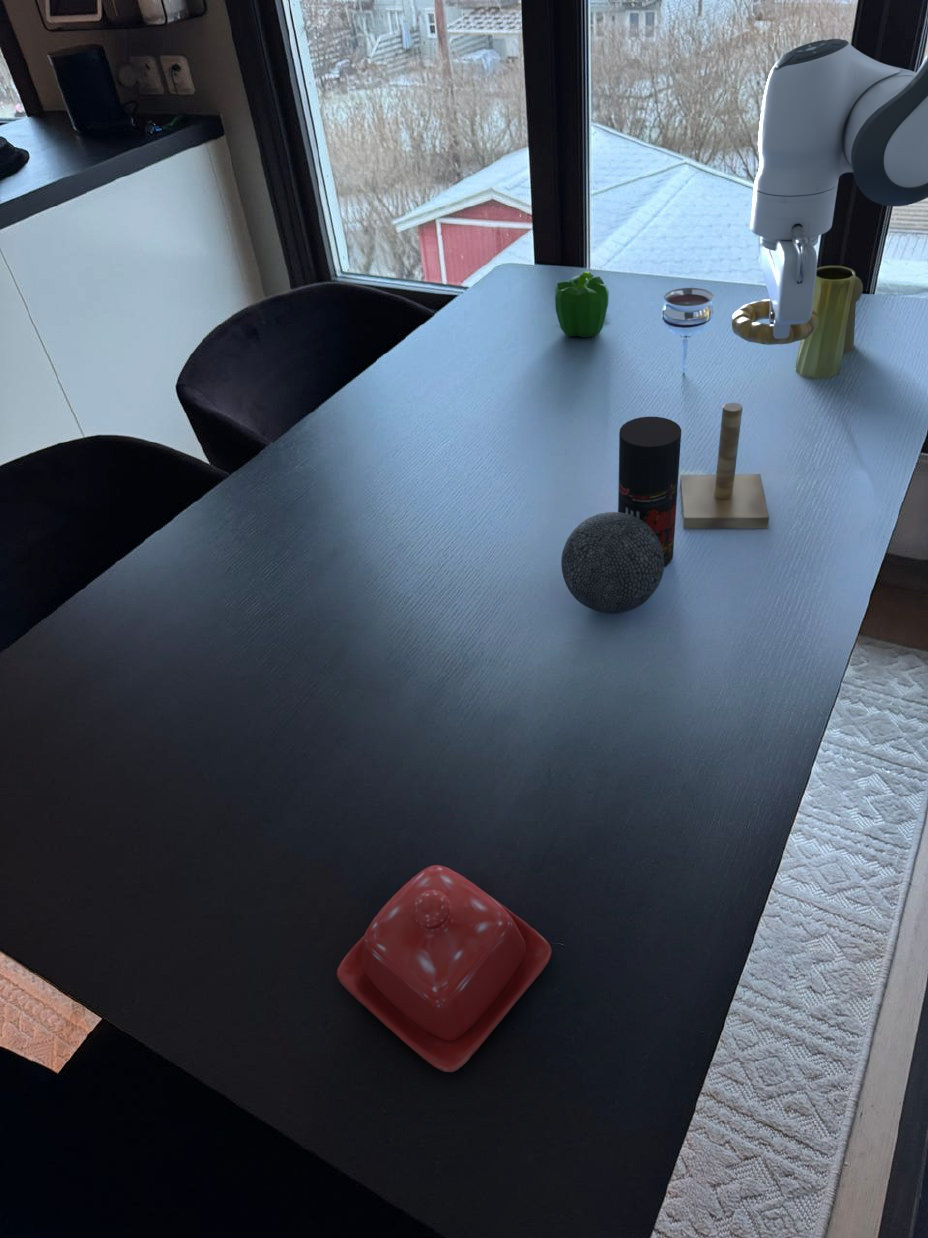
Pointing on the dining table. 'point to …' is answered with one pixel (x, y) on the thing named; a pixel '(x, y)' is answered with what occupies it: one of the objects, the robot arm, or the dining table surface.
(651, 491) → the deodorant
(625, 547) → the decorative ball
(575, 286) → the bell pepper
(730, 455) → the post
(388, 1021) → the butter dish
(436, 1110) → the dining table surface
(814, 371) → the vase
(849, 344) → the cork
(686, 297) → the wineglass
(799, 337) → the ring
